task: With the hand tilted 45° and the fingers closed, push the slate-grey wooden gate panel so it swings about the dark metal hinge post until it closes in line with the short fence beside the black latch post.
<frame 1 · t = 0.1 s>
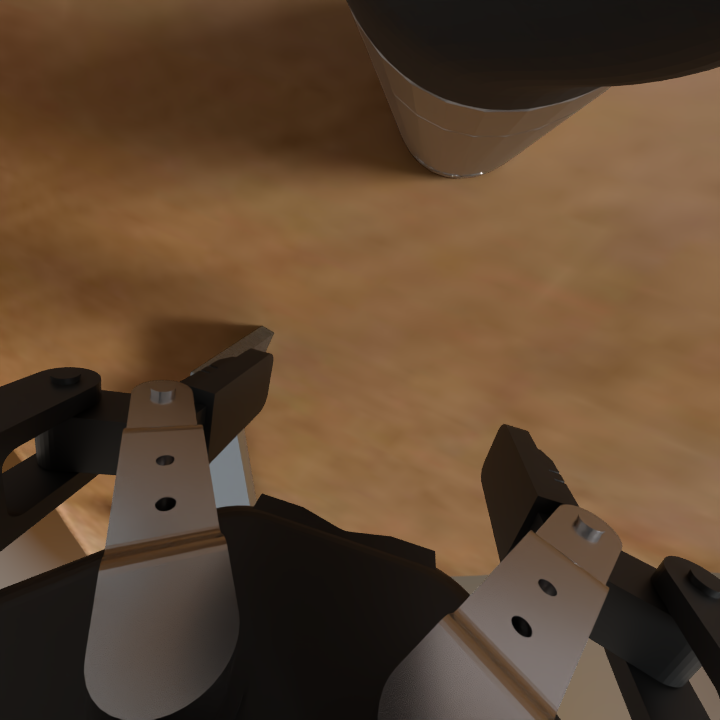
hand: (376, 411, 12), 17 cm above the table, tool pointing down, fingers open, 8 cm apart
gate: (222, 511, 33), point 6 cm above the table, hinge at 0.0°
gate frame: (238, 396, 34), on the table
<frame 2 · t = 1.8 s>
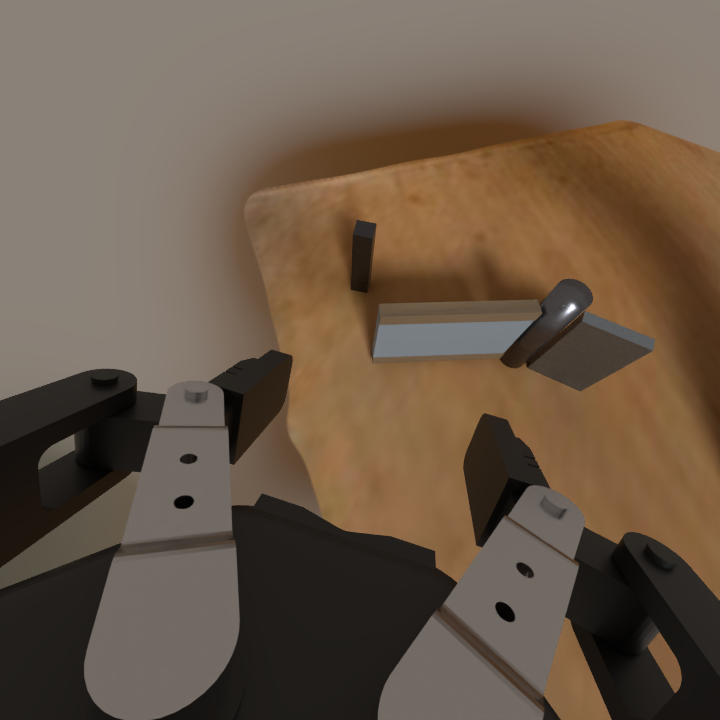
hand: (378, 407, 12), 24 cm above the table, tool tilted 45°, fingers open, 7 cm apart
gate: (446, 334, 35), point 6 cm above the table, hinge at 0.0°
gate frame: (511, 356, 40), on the table
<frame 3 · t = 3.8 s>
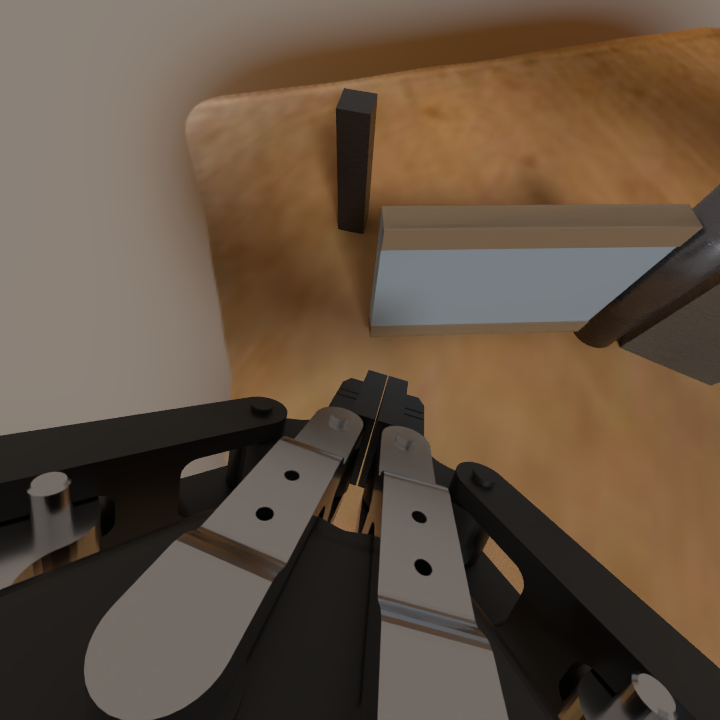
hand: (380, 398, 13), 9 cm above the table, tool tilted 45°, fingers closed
gate: (501, 282, 20), point 6 cm above the table, hinge at 0.0°
gate frame: (593, 328, 25), on the table
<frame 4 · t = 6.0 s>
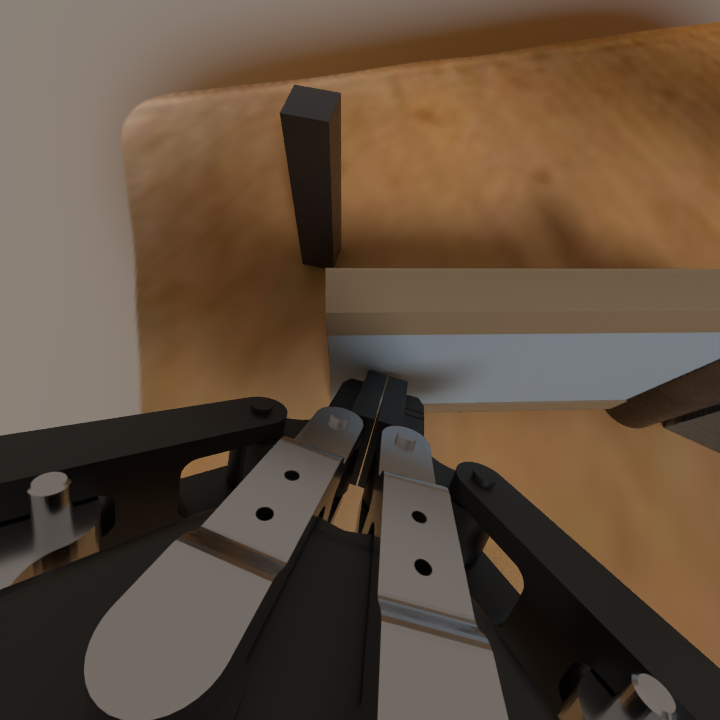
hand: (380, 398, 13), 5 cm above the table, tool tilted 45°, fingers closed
gate: (511, 360, 14), point 6 cm above the table, hinge at -0.9°, touching gripper
gate frame: (628, 401, 19), on the table
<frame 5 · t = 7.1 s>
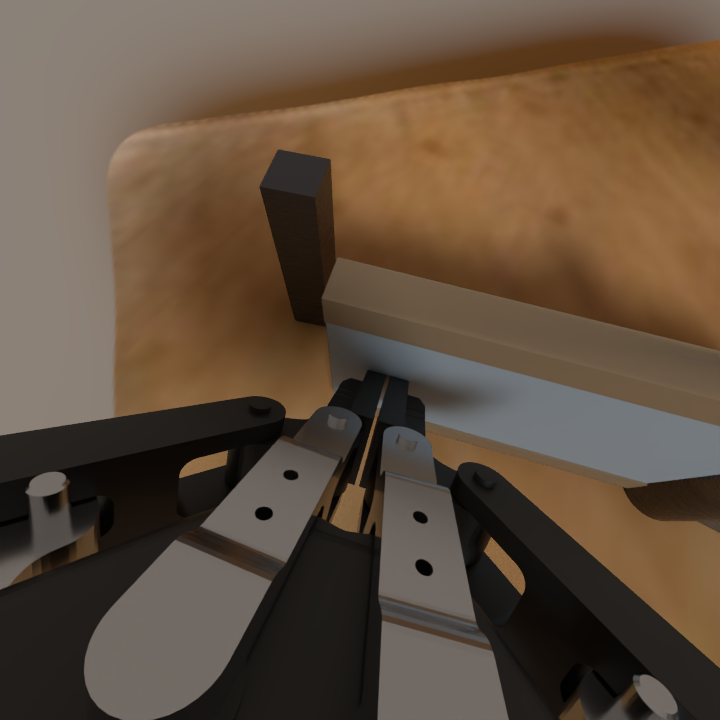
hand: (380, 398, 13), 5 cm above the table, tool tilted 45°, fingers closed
gate: (519, 402, 13), point 6 cm above the table, hinge at -17.6°, touching gripper
gate frame: (654, 487, 17), on the table
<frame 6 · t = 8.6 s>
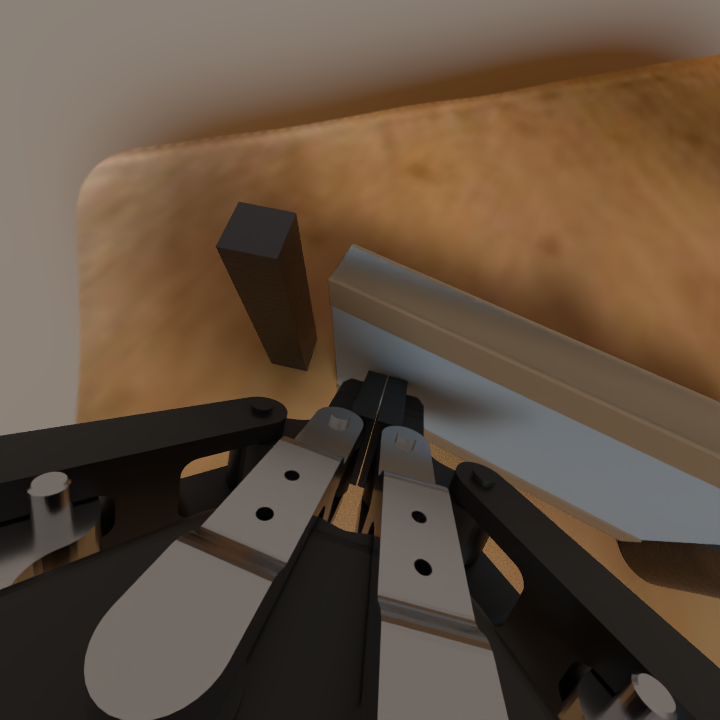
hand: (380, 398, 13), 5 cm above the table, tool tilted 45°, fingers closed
gate: (515, 424, 13), point 6 cm above the table, hinge at -30.0°, touching gripper
gate frame: (652, 547, 16), on the table
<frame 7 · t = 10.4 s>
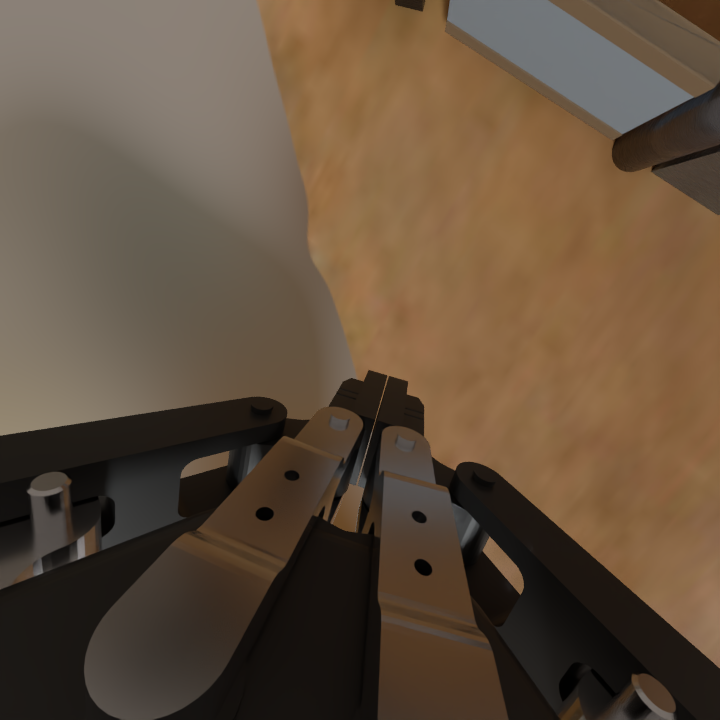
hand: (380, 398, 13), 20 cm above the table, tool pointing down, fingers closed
gate: (561, 40, 20), point 6 cm above the table, hinge at -30.0°
gate frame: (635, 149, 26), on the table
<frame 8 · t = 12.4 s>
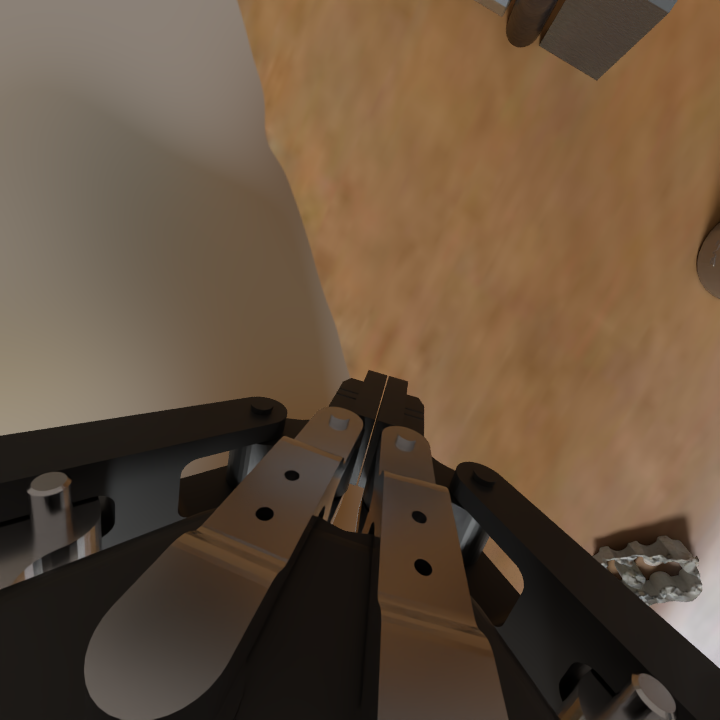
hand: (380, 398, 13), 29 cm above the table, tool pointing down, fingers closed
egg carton: (637, 559, 46), on the table
gate frame: (524, 26, 31), on the table
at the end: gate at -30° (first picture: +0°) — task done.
